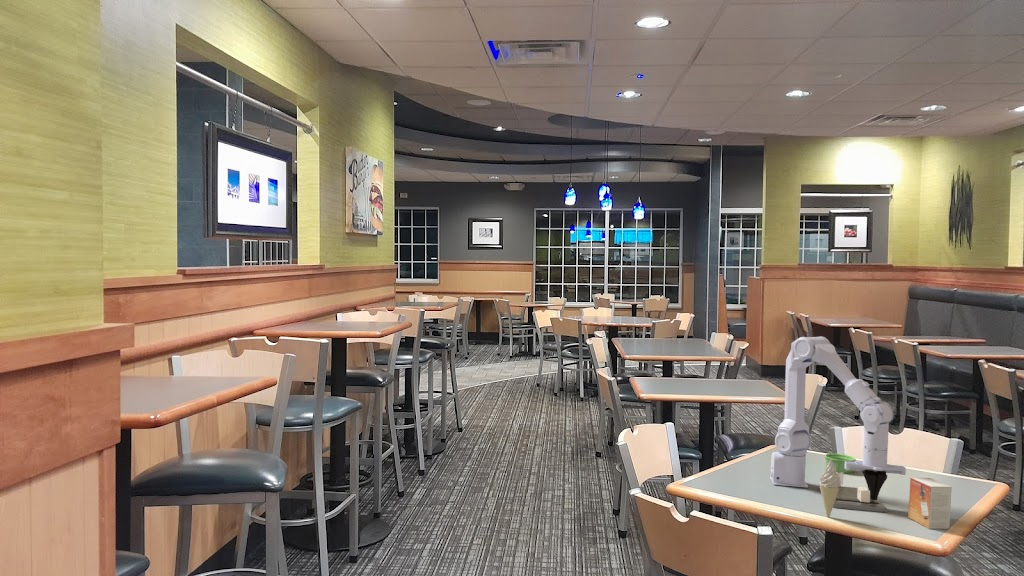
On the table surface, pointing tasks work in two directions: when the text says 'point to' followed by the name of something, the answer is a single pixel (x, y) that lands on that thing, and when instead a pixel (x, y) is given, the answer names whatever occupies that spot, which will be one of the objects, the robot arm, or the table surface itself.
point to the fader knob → (863, 494)
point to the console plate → (856, 501)
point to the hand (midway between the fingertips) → (873, 498)
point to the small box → (930, 503)
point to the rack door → (841, 477)
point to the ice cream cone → (829, 486)
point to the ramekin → (839, 461)
